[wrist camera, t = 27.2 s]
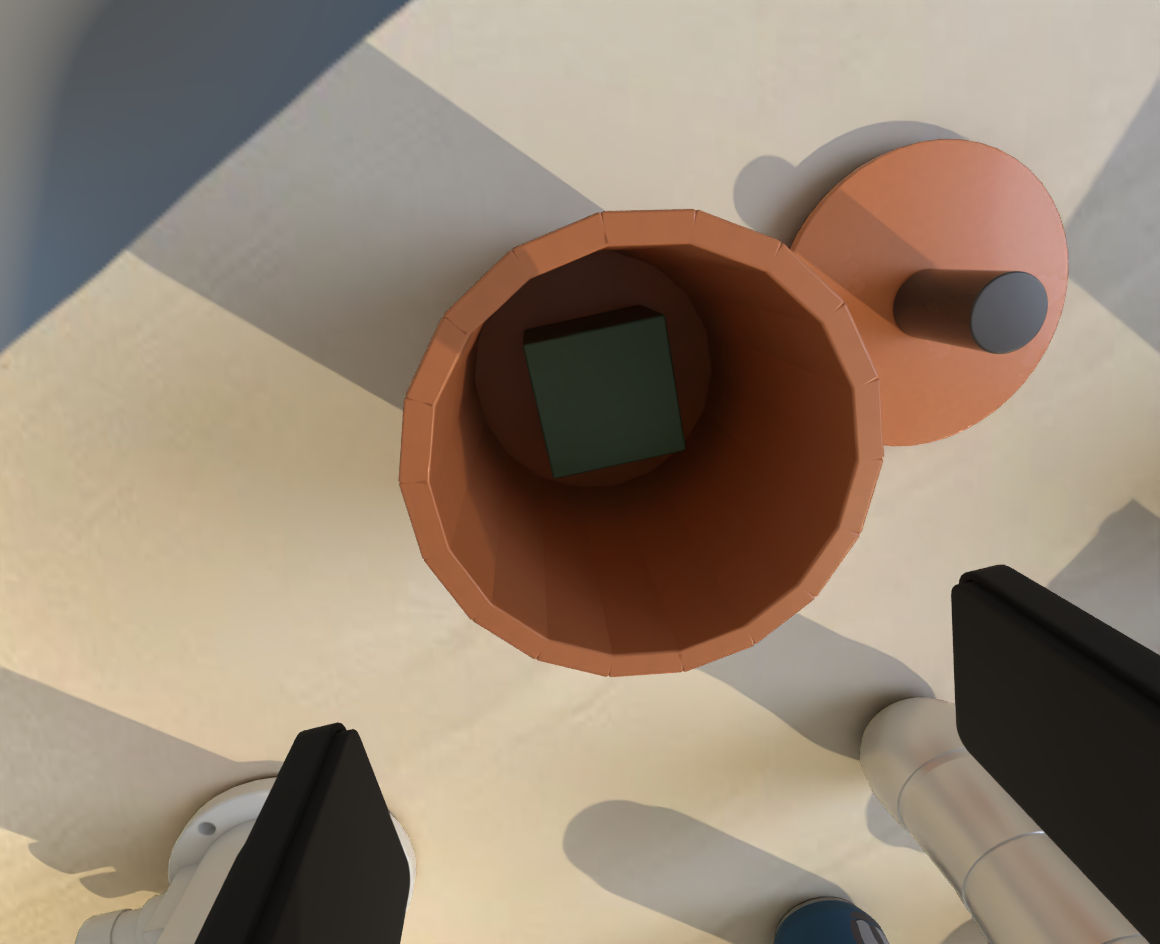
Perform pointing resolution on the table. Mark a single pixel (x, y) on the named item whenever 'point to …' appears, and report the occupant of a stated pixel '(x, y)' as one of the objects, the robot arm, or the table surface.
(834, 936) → the soda can
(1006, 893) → the silver metal bottle
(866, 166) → the pot lid
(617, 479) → the orange canister
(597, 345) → the cube
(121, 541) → the table surface
